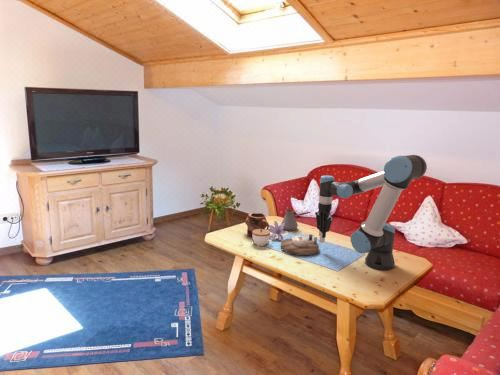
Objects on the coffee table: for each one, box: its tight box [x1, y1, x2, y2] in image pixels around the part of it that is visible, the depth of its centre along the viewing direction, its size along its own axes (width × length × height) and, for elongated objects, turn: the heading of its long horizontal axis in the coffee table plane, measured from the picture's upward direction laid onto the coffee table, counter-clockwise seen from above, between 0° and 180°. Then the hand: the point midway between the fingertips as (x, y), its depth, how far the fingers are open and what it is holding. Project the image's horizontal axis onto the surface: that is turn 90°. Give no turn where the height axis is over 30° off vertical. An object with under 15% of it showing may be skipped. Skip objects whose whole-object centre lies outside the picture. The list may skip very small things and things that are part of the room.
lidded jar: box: [251, 228, 271, 247], centre depth 235 cm, size 11×11×9 cm
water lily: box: [268, 220, 288, 242], centre depth 246 cm, size 15×15×9 cm
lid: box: [291, 234, 309, 247], centre depth 228 cm, size 9×9×5 cm
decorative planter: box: [244, 212, 270, 238], centre depth 248 cm, size 20×12×14 cm, turn 48°
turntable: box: [280, 236, 319, 256], centre depth 228 cm, size 22×22×6 cm
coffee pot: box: [280, 209, 312, 232], centre depth 261 cm, size 21×12×15 cm, turn 53°
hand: (321, 242), depth 225 cm, fingers closed
